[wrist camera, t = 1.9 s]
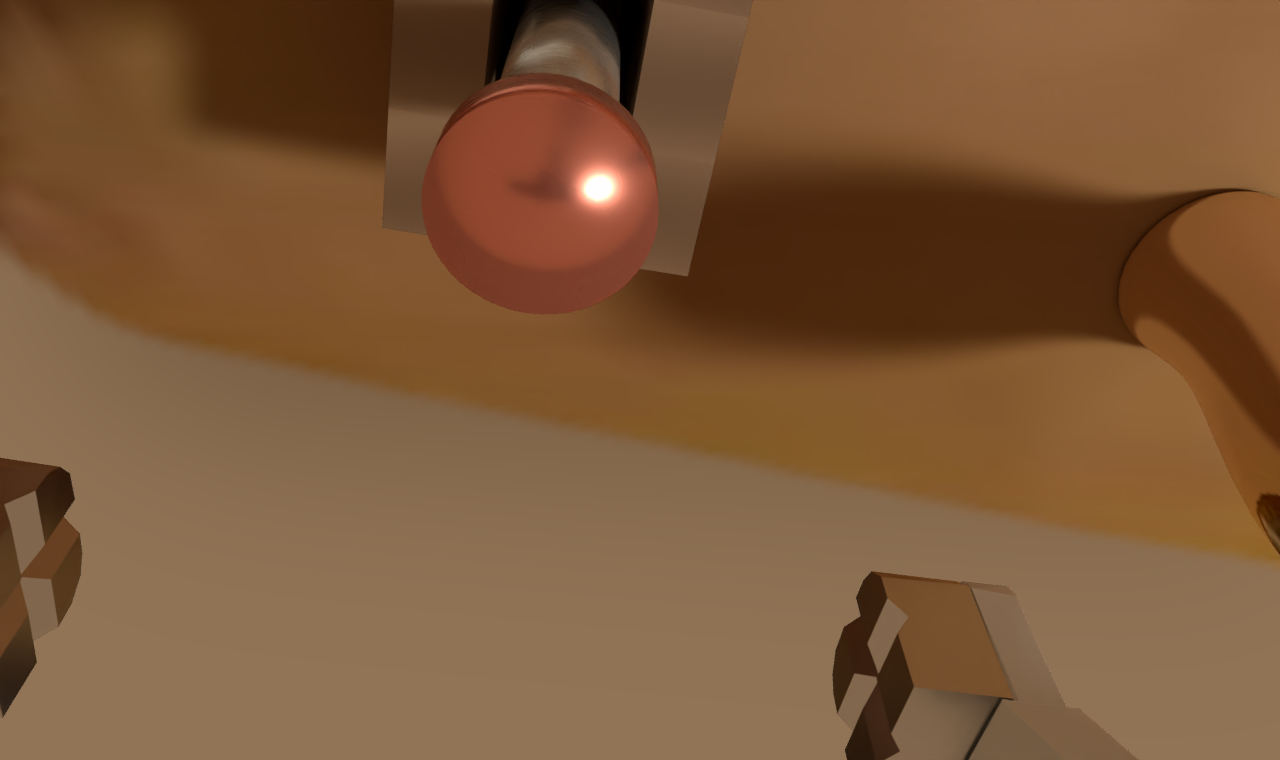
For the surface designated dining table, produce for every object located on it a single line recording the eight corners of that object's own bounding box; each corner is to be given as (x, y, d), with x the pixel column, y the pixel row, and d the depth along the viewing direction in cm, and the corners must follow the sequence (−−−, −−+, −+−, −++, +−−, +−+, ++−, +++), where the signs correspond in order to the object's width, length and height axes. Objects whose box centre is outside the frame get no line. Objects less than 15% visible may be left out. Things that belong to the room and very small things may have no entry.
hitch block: (446, -233, 26) (405, -213, 21) (755, -169, 27) (784, -135, 22) (420, 141, 32) (382, 227, 27) (678, 184, 33) (687, 276, 28)
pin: (512, -91, 28) (430, 76, 16) (658, -63, 29) (680, 119, 17) (497, 55, 30) (414, 296, 19) (632, 80, 31) (635, 329, 19)
